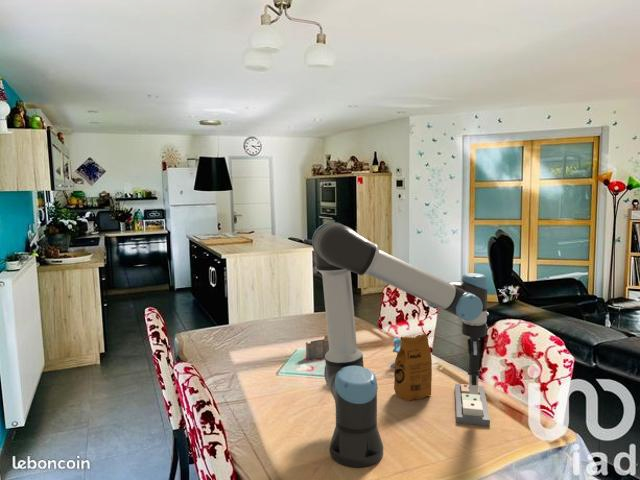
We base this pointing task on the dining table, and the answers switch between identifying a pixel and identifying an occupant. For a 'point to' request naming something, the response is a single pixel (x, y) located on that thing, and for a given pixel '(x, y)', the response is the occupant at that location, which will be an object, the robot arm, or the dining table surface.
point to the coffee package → (413, 368)
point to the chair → (396, 347)
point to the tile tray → (466, 418)
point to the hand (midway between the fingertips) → (473, 393)
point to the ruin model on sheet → (317, 348)
